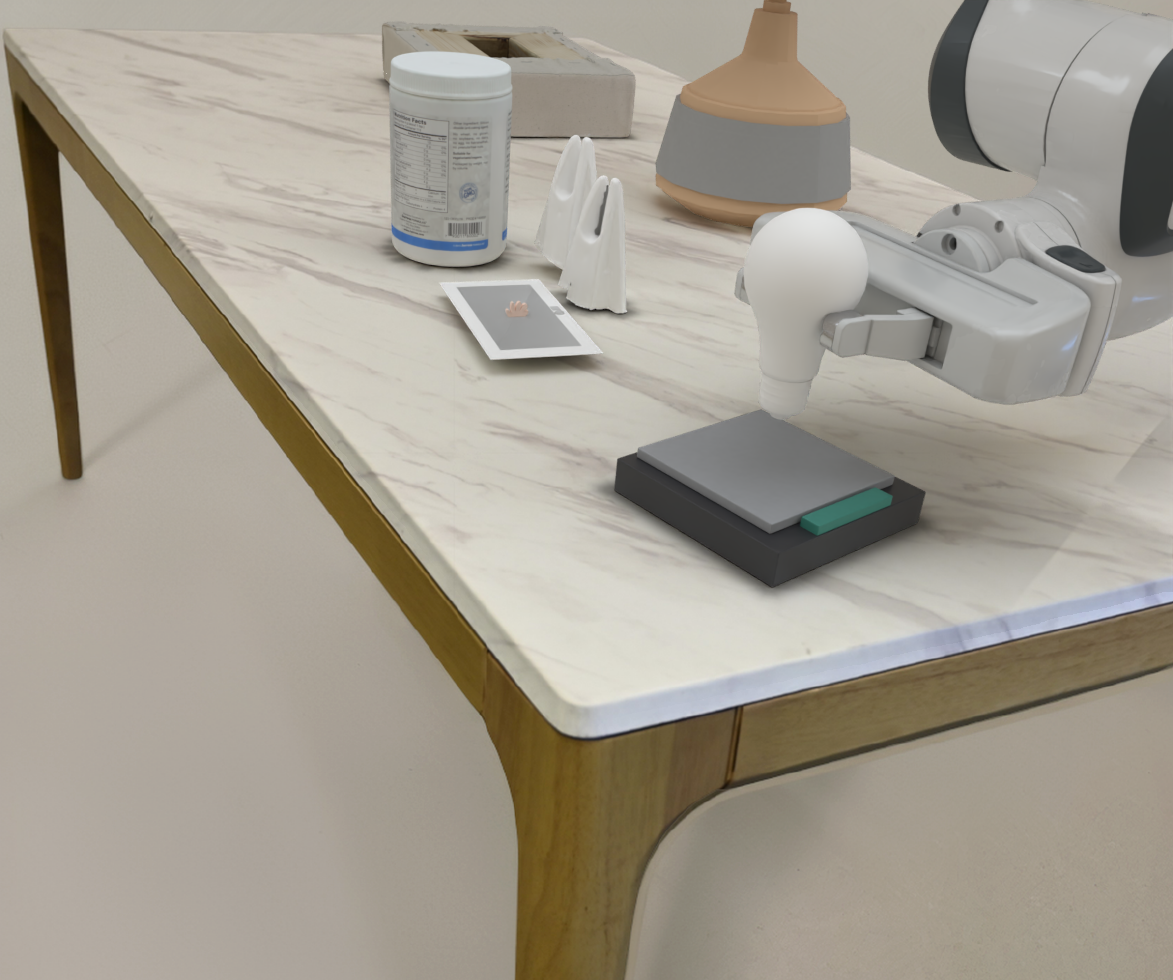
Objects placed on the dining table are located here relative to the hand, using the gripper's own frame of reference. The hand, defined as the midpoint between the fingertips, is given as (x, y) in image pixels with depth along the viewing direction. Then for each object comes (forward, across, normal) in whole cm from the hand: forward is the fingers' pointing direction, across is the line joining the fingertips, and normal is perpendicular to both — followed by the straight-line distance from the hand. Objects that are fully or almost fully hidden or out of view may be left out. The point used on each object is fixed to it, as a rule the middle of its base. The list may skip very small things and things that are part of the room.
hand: (785, 311), depth 61 cm
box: (-33, -96, +12) cm, 102 cm away
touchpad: (0, -28, +12) cm, 30 cm away
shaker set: (-9, -35, +12) cm, 38 cm away
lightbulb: (-1, 0, +6) cm, 6 cm away
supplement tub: (-3, -46, +12) cm, 48 cm away
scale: (-1, 0, +11) cm, 11 cm away
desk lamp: (-37, -50, +12) cm, 63 cm away
